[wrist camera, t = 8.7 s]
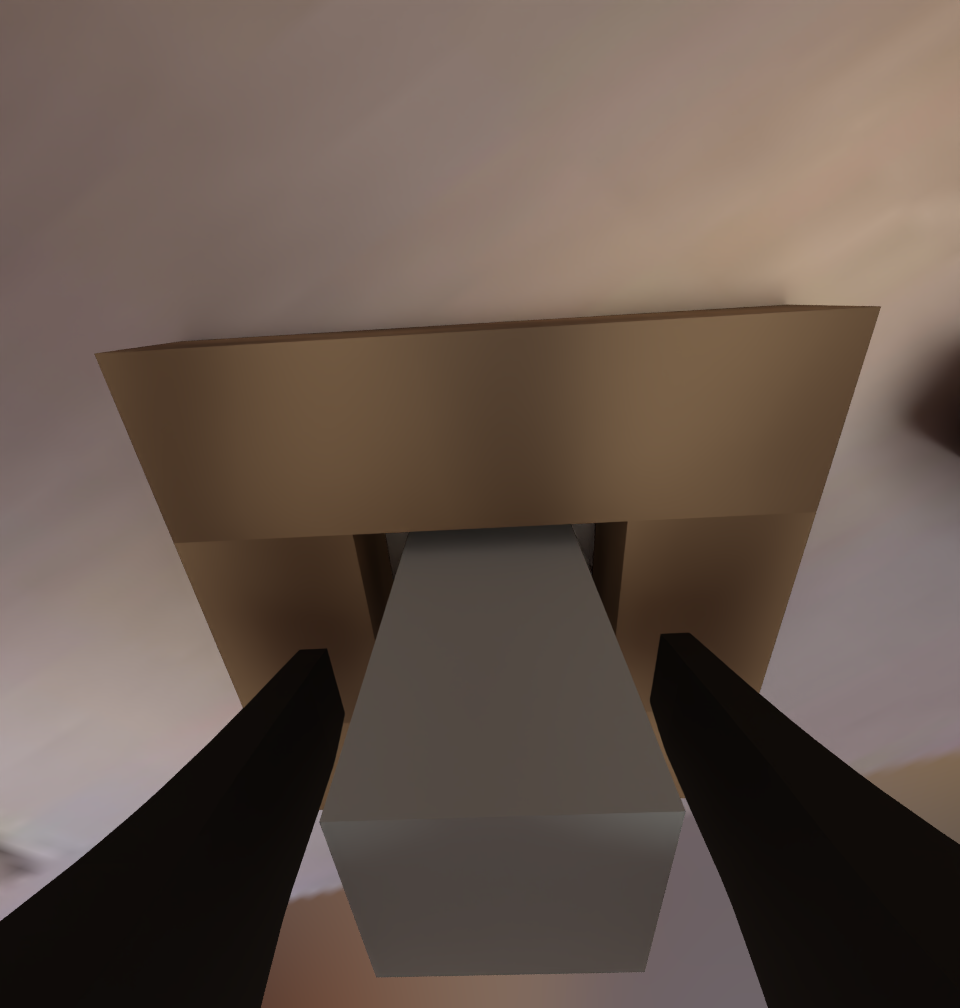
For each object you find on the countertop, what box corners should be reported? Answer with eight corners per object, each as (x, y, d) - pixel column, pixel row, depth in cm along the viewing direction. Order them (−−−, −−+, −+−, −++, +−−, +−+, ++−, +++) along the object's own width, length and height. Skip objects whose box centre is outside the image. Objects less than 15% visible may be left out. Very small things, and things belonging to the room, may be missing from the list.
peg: (431, 619, 14) (376, 977, 6) (416, 506, 12) (319, 822, 5) (557, 614, 14) (644, 972, 6) (561, 499, 12) (685, 811, 5)
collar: (313, 738, 16) (286, 810, 14) (181, 341, 10) (94, 353, 8) (691, 725, 16) (726, 796, 13) (787, 305, 10) (880, 306, 7)
